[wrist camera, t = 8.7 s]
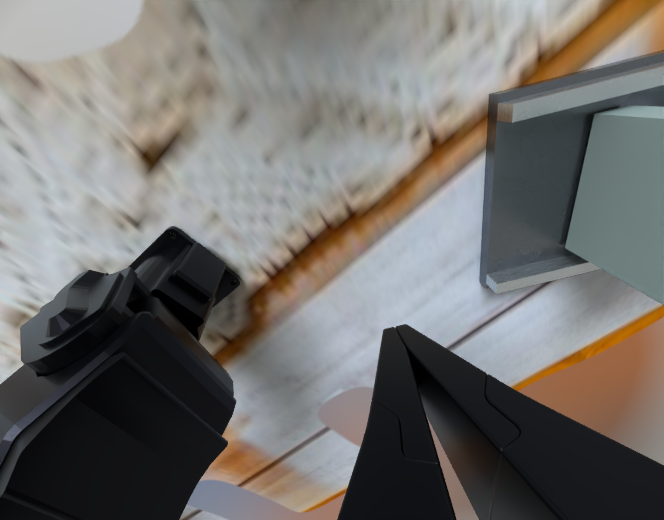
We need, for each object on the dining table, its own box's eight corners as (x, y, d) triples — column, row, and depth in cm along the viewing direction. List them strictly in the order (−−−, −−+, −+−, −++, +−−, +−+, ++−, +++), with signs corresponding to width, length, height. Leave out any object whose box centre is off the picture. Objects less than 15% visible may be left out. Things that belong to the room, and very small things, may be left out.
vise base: (479, 281, 26) (496, 298, 24) (489, 94, 19) (514, 94, 16) (656, 239, 26) (689, 252, 24) (739, 31, 18) (798, 22, 16)
